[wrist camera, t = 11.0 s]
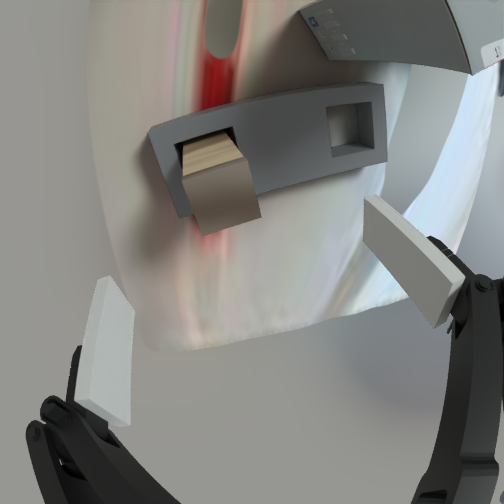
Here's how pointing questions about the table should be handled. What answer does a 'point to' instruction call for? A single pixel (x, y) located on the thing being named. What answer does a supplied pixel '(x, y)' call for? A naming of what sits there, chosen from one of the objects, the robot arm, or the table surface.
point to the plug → (218, 182)
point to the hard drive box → (411, 31)
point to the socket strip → (280, 136)
